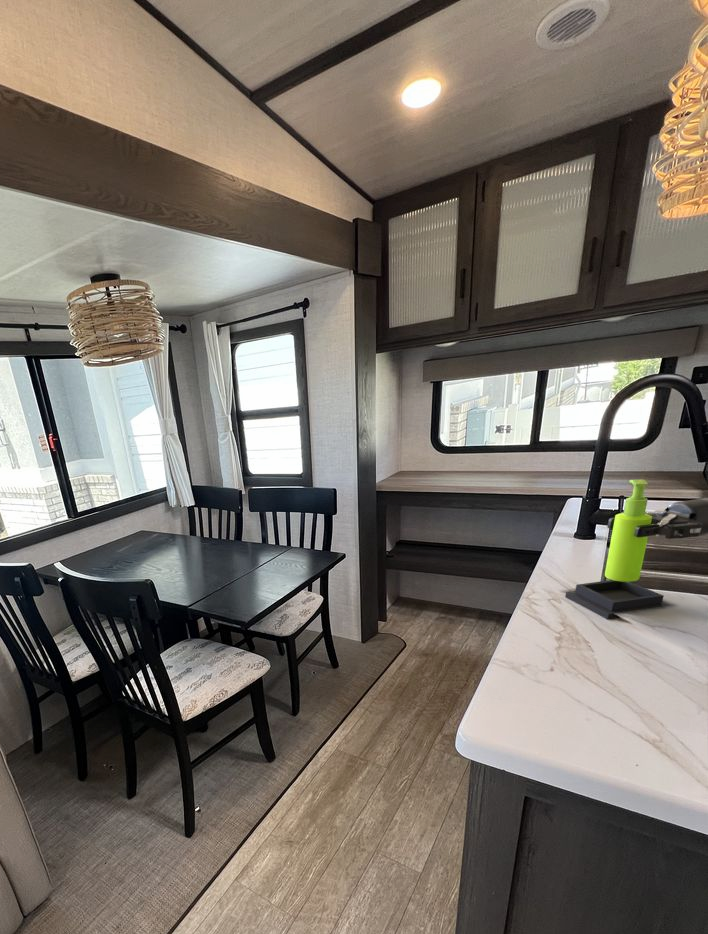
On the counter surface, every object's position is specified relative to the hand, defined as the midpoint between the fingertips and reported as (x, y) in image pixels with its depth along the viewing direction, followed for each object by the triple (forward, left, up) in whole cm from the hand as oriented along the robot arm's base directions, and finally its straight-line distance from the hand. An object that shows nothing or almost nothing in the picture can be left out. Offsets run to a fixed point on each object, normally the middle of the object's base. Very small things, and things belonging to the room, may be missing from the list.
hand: (622, 527), depth 94 cm
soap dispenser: (-3, 0, -11) cm, 11 cm away
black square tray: (-2, 0, -17) cm, 17 cm away
